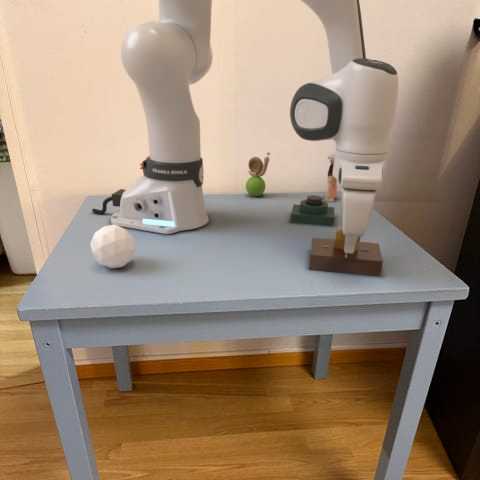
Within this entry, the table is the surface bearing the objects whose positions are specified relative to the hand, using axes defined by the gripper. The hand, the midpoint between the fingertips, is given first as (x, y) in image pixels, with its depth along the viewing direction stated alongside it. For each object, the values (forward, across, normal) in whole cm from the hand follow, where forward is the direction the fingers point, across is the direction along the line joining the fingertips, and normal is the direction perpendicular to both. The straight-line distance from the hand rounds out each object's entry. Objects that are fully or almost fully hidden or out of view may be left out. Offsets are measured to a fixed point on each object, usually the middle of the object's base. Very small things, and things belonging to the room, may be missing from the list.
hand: (347, 242), depth 86 cm
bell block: (+4, -25, -7) cm, 26 cm away
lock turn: (+1, 0, 0) cm, 1 cm away
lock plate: (+4, 0, 0) cm, 4 cm away
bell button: (+1, -25, -7) cm, 26 cm away
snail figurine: (+4, -41, -23) cm, 47 cm away
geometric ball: (+4, +11, -42) cm, 44 cm away
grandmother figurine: (+4, -44, -3) cm, 44 cm away
